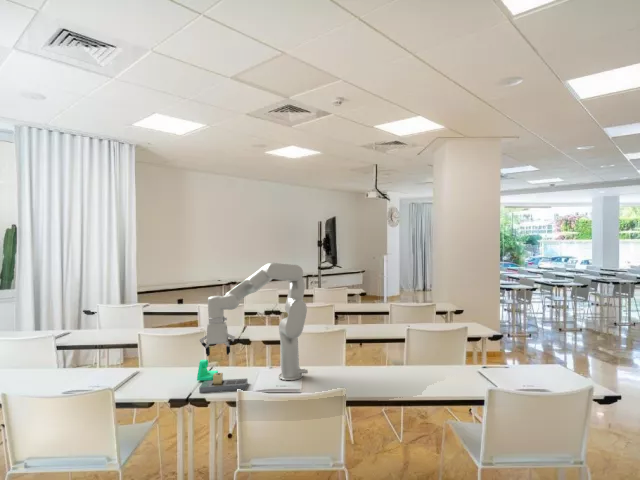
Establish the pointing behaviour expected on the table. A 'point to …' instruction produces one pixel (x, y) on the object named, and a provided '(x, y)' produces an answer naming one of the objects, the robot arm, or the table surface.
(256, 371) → the table surface
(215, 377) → the nut block
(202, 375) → the camera mount
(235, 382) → the grey compartment tray
